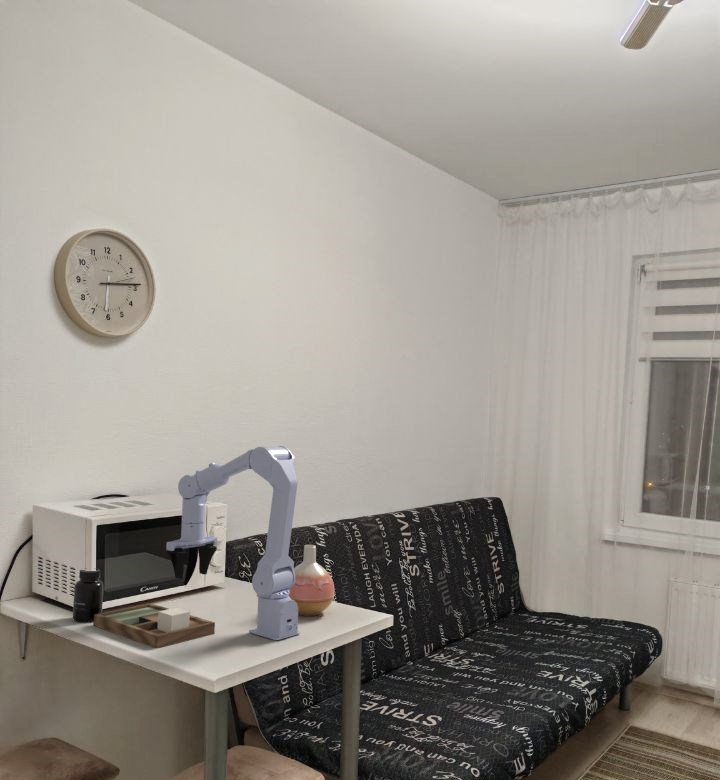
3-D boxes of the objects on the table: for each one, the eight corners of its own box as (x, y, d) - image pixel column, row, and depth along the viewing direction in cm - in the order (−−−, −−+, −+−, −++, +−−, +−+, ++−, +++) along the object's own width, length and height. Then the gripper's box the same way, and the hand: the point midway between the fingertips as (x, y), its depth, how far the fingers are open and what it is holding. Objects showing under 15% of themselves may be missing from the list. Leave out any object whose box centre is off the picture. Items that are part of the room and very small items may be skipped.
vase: (310, 623, 193) (312, 552, 193) (270, 613, 201) (273, 545, 202) (344, 613, 204) (346, 545, 204) (305, 604, 212) (307, 539, 213)
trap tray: (214, 633, 181) (214, 622, 181) (157, 648, 169) (157, 636, 169) (150, 613, 197) (150, 603, 197) (93, 625, 185) (94, 614, 185)
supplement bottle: (71, 623, 186) (73, 573, 186) (73, 616, 192) (75, 567, 193) (101, 622, 188) (103, 572, 188) (102, 615, 194) (104, 567, 194)
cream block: (189, 629, 177) (189, 611, 177) (171, 633, 173) (171, 615, 173) (175, 625, 180) (176, 607, 180) (157, 629, 176) (158, 611, 176)
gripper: (205, 518, 205) (203, 569, 205) (159, 522, 194) (157, 577, 193) (223, 521, 201) (221, 573, 200) (177, 526, 189) (175, 582, 189)
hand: (191, 576), depth 196 cm, fingers open, 7 cm apart
